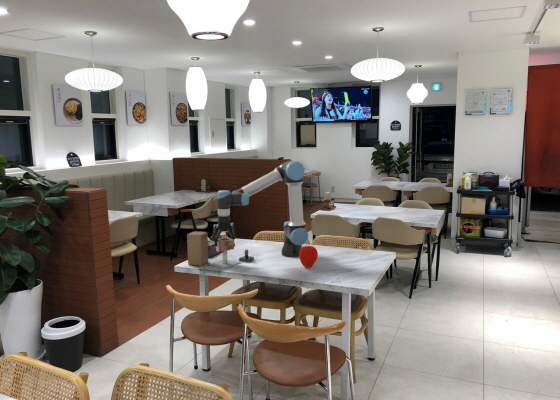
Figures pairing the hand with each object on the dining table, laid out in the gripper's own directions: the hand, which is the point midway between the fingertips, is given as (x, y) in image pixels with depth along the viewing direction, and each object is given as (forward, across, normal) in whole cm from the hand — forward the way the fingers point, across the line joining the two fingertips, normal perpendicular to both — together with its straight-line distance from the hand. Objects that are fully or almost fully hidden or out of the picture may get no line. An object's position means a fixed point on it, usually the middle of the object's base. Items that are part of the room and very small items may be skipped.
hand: (224, 250), depth 283 cm
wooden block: (+9, +14, -11) cm, 20 cm away
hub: (+9, 0, 0) cm, 9 cm away
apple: (+9, -41, +34) cm, 54 cm away
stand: (+9, -16, -1) cm, 18 cm away
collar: (-1, 0, 0) cm, 1 cm away
